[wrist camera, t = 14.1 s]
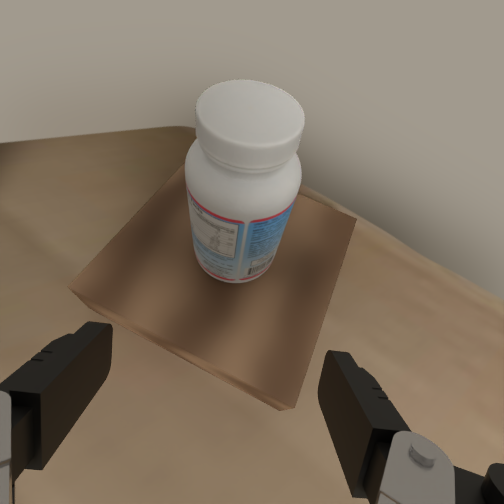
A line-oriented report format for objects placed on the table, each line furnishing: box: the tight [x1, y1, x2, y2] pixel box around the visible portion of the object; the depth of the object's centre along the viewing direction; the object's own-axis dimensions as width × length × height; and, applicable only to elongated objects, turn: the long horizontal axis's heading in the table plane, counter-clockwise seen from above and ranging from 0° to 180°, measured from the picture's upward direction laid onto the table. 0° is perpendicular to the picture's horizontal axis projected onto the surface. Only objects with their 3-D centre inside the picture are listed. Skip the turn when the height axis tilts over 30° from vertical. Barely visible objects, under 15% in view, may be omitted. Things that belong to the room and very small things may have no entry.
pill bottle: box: [185, 79, 305, 283], centre depth 16 cm, size 6×6×11 cm
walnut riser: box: [67, 162, 357, 411], centre depth 23 cm, size 16×16×4 cm
